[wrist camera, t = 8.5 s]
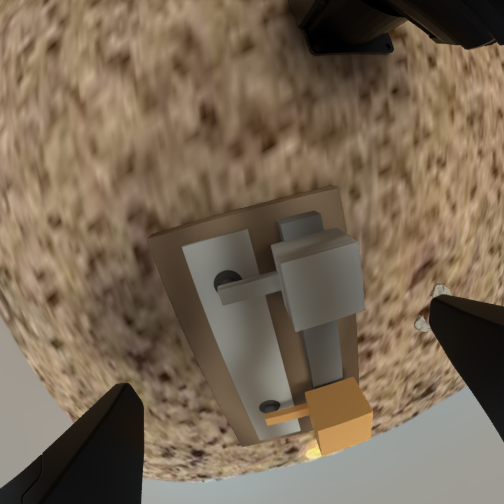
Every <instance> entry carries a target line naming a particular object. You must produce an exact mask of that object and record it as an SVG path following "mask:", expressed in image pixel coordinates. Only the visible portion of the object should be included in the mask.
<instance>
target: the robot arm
mask: <svg viewBox="0 0 504 504" xmlns="http://www.w3.org/2000/svg"><path fill="white" fill-rule="evenodd" d="M288 3H289V6H290V8H291V11H292V13H293V16H294V19H295V21H296V24H297V27H298V28H300V29H301V30H302V31H303V34H304V36H305V39H306V42H307V45H308V48H309V51H310V52H311V53H312V54H313V55H315V56H323V55H339V54H390V53H392V52H393V50H394V47H393V44H392V42H391V39H390V36H389V34H388V32H390V31H391V30H393V29H394V28H396V27H398V26H399V25H401V24H403V23H404V22H406V21H408V20H409V21H410V22H412V23H413V24H415V25H416V26H417V27H419V28H420V29H421V30H423V31H424V32H425V33H426V34H428V35H429V38H430V39H432V40H433V41H434V42H435V43H438V44H450V45H461V46H462V47H463V48H464V49H466V50H470V49H475V48H479V47H482V46H487V45H492V44H494V43H496V42H497V43H498V44H499V45H504V0H288ZM385 45H386V46H387V47H388V49H387V48H386V47H385ZM314 46H317V47H319V48H320V51H318V50H316V49H315V48H314ZM429 325H430V328H431V330H432V331H433V333H434V335H435V336H436V338H437V340H438V341H439V343H440V344H441V346H442V348H443V350H444V351H445V353H446V355H447V356H448V358H449V360H450V361H451V363H452V365H453V366H454V367H455V369H456V370H457V372H458V373H459V374H460V376H461V377H462V379H463V380H464V381H465V383H466V384H467V386H468V387H469V389H470V390H471V391H472V393H473V394H474V396H475V397H476V399H477V400H478V402H479V403H480V405H481V406H482V408H483V409H484V411H485V412H486V414H487V416H488V417H489V419H490V420H491V422H492V423H493V425H494V427H495V428H496V430H497V432H498V433H499V435H500V437H501V438H502V440H503V442H504V306H499V305H494V304H489V303H485V302H480V301H475V300H470V299H465V298H460V297H456V296H451V295H446V294H441V295H439V296H436V297H434V298H433V299H432V300H431V303H430V315H429ZM143 462H144V406H143V403H142V401H141V399H140V398H139V396H138V395H137V393H136V392H135V390H134V389H133V387H132V386H131V385H130V384H129V383H119V384H116V385H114V386H113V387H112V388H111V389H110V390H109V391H108V392H107V393H106V394H105V395H104V396H103V397H102V398H100V399H99V400H98V401H97V402H96V403H95V404H94V405H93V406H92V407H91V408H90V409H89V410H88V411H87V412H86V413H85V414H83V415H82V416H81V417H80V418H79V419H78V420H77V421H76V422H75V423H74V424H73V425H72V426H71V427H70V428H69V429H68V430H66V431H65V432H64V434H62V435H61V436H60V437H59V438H58V439H57V440H56V441H55V442H54V443H53V444H52V445H51V446H49V447H48V448H47V449H46V450H45V451H44V452H43V453H42V455H40V456H39V457H38V458H37V459H36V460H35V461H33V462H32V463H31V464H30V465H29V466H28V467H27V468H26V469H24V470H23V471H22V472H21V473H20V474H18V475H17V476H16V477H15V478H13V479H12V480H11V481H9V482H8V483H7V484H6V485H4V486H3V487H2V488H0V504H141V494H142V492H141V491H142V476H143Z"/></svg>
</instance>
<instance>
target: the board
mask: <svg viewBox="0 0 504 504" xmlns="http://www.w3.org/2000/svg"><path fill="white" fill-rule="evenodd" d="M147 241H148V244H149V246H150V249H151V252H152V255H153V257H154V260H155V263H156V266H157V268H158V271H159V273H160V276H161V279H162V281H163V284H164V286H165V289H166V291H167V294H168V296H169V299H170V301H171V304H172V306H173V308H174V311H175V313H176V315H177V318H178V320H179V322H180V325H181V327H182V329H183V332H184V334H185V336H186V338H187V341H188V343H189V345H190V347H191V349H192V351H193V354H194V356H195V358H196V360H197V362H198V364H199V366H200V368H201V370H202V372H203V374H204V376H205V378H206V380H207V382H208V384H209V386H210V388H211V390H212V392H213V394H214V396H215V398H216V400H217V402H218V404H219V406H220V408H221V409H222V411H223V413H224V415H225V417H226V419H227V420H228V422H229V424H230V426H231V428H232V429H233V431H234V433H235V435H236V436H237V438H238V440H239V442H240V443H241V445H242V447H243V446H249V445H254V444H259V443H264V442H269V441H273V440H278V439H282V438H286V437H290V436H294V435H297V434H301V433H305V432H308V431H312V430H313V427H312V424H311V421H310V416H309V415H308V416H304V417H301V418H297V419H293V420H290V421H286V422H282V423H278V424H274V425H269V426H268V425H267V423H266V421H265V416H264V414H265V408H266V407H267V406H274V407H275V408H276V411H278V410H282V409H286V408H290V407H294V406H297V405H301V404H304V403H307V402H306V397H305V392H307V391H310V390H314V389H317V388H320V387H323V386H326V385H330V384H333V383H336V382H338V381H341V380H344V379H347V378H350V377H353V376H354V378H355V380H356V382H357V383H358V385H359V369H358V344H357V327H356V314H355V313H358V312H361V311H363V310H365V305H364V291H363V279H362V269H361V259H360V250H359V242H358V241H357V240H355V239H354V238H352V237H351V236H349V235H348V234H346V227H345V221H344V215H343V209H342V203H341V197H340V192H339V188H338V187H334V186H329V187H325V188H320V189H316V190H312V191H308V192H304V193H299V194H295V195H291V196H287V197H283V198H279V199H275V200H271V201H267V202H264V203H260V204H256V205H252V206H248V207H245V208H241V209H237V210H233V211H230V212H226V213H222V214H219V215H215V216H212V217H208V218H205V219H201V220H198V221H194V222H191V223H187V224H184V225H181V226H177V227H174V228H170V229H167V230H164V231H161V232H157V233H154V234H151V235H150V237H149V238H148V239H147Z"/></svg>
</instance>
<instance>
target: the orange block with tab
mask: <svg viewBox="0 0 504 504" xmlns="http://www.w3.org/2000/svg"><path fill="white" fill-rule="evenodd" d="M305 397H306V402H307V403H304V404H301V405H297V406H294V407H290V408H286V409H282V410H278V411H276V408H275V407H274V406H267V407H266V408H265V414H264V416H265V421H266V423H267V425H268V426H269V425H274V424H278V423H282V422H286V421H290V420H293V419H297V418H301V417H304V416H308V415H309V416H310V421H311V424H312V427H313V430H314V433H315V436H316V439H317V442H318V445H319V448H320V452H321V455H322V456H323V455H326V454H330V453H333V452H336V451H339V450H342V449H345V448H347V447H350V446H353V445H356V444H358V443H361V442H364V441H366V440H369V439H370V438H371V428H372V417H373V411H372V409H371V407H370V405H369V403H368V402H367V400H366V398H365V396H364V394H363V392H362V391H361V389H360V387H359V385H358V383H357V382H356V380H355V378H354V376H353V377H350V378H347V379H344V380H341V381H338V382H336V383H333V384H330V385H326V386H323V387H320V388H317V389H314V390H310V391H307V392H305Z"/></svg>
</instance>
